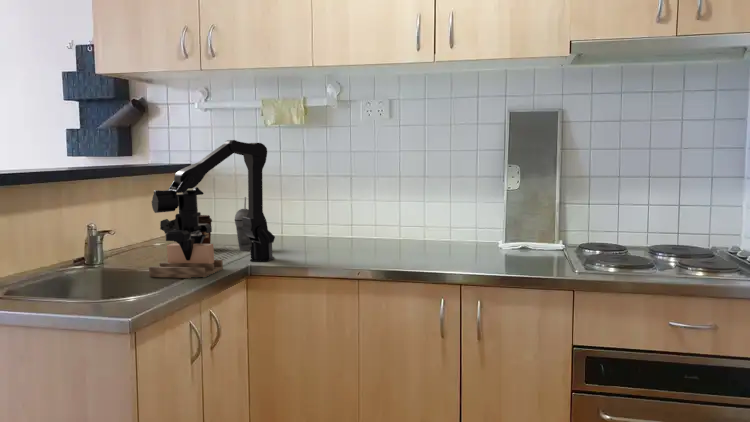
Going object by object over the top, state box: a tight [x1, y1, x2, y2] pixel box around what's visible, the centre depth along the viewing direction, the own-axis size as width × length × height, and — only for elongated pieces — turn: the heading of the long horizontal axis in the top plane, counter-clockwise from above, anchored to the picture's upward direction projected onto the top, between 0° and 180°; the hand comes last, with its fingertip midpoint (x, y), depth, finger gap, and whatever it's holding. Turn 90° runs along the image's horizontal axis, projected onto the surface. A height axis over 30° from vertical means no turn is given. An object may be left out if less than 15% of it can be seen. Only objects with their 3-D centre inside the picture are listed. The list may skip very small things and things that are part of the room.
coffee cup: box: [198, 214, 213, 244], centre depth 229 cm, size 9×8×13 cm
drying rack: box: [148, 259, 224, 279], centre depth 188 cm, size 18×13×3 cm
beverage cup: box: [234, 196, 252, 252], centre depth 225 cm, size 7×7×20 cm
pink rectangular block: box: [166, 242, 215, 264], centre depth 190 cm, size 14×4×6 cm, turn 78°
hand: (191, 259), depth 190 cm, fingers closed on pink rectangular block, 3 cm apart
